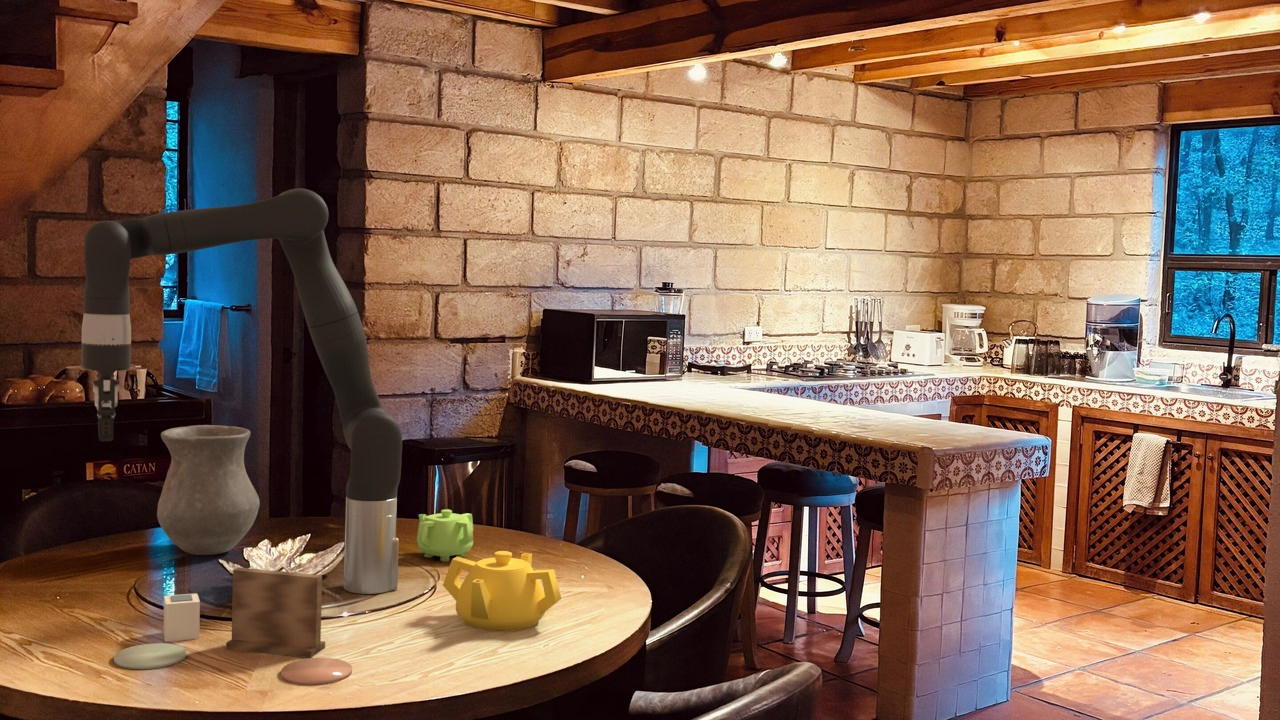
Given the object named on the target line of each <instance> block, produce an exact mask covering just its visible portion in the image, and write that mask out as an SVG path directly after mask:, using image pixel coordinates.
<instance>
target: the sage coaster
mask: <svg viewBox="0 0 1280 720" xmlns="http://www.w3.org/2000/svg"><path fill="white" fill-rule="evenodd" d="M186 657H187V650H186V648H185V647H183V646H181V645H178V644H173V643H159V642H157V643H145V644H139V645H138V644H137V645H134V646H133V645H132V646H130V647H127V648H124V649H120V650H119V651H117V652H116V653H115V654H114V656H113V662H114V664H115V665H116V666H118V667H120V668H124V669H130V670H151V669H152V670H153V669H154V670H155V669H161V668H165V667H171V666H173V665H176V664H178V663H180V662H182V661H184V660H185V659H186Z"/></svg>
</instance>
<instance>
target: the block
mask: <svg viewBox="0 0 1280 720" xmlns="http://www.w3.org/2000/svg"><path fill="white" fill-rule="evenodd" d="M200 607H201V601H200V597H199V595H198V593H185V594H171V595H170V594H169V595H164V596H163V630H162V631H163V636H164V642H166V643H167V642H176V641H177V642H178V641H186V640H198V639H200V621H201V620H200V618H201V617H200V616H201V612H200V611H201V609H200Z"/></svg>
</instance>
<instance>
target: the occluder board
mask: <svg viewBox="0 0 1280 720" xmlns="http://www.w3.org/2000/svg"><path fill="white" fill-rule="evenodd" d="M322 593H323V575H321V574H315V573H314V574H311V573H300V572H289V571H280V570H279V571H278V570H269V569H258V568H247V567H237V568H234V569H233V570H232V602H231V603H232V605H231V606H232V607H231V609H232V610H231V639H230V640H228V641H226V642H225V650H232V651H242V652H244V651H245V652H251V653H261V654H272V655H279V656H288V657H289V656H291V657H298V658H306V659H309V658H314V656H315V655H317V654H319V653H320V652H321V651H323V650H324V649H326V641H325V640H322V639H321V638H322V636H321V634H322V627H321V626H322V600H323V599H322V598H323V594H322Z"/></svg>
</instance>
